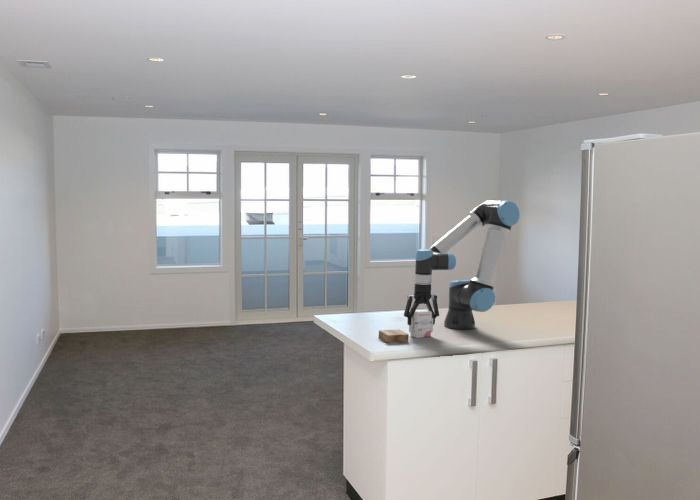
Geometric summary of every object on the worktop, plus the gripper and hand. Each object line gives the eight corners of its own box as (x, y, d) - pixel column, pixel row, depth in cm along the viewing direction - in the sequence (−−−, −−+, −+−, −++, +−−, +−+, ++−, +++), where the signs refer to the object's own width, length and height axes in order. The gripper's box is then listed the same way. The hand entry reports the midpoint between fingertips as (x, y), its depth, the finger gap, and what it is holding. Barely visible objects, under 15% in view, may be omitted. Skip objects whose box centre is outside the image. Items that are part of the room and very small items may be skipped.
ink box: (424, 334, 314) (426, 309, 313) (431, 336, 310) (432, 311, 308) (409, 336, 309) (410, 310, 308) (416, 338, 305) (417, 312, 304)
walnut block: (399, 338, 306) (399, 329, 306) (408, 343, 297) (408, 334, 296) (378, 339, 303) (378, 330, 302) (387, 344, 293) (387, 335, 293)
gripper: (441, 281, 314) (439, 329, 316) (397, 282, 307) (395, 330, 310) (448, 284, 307) (446, 332, 309) (403, 284, 300) (401, 334, 302)
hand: (420, 331), depth 309 cm, fingers closed on ink box, 9 cm apart
